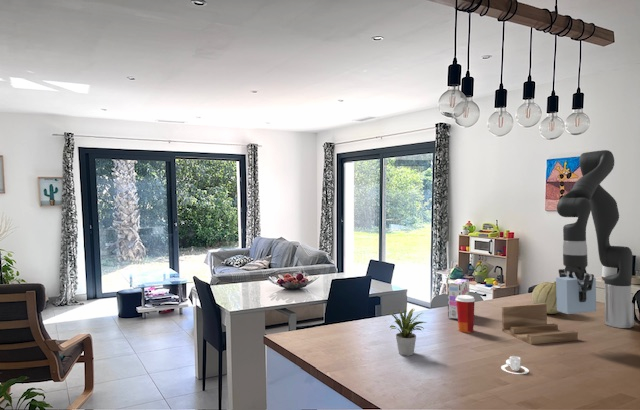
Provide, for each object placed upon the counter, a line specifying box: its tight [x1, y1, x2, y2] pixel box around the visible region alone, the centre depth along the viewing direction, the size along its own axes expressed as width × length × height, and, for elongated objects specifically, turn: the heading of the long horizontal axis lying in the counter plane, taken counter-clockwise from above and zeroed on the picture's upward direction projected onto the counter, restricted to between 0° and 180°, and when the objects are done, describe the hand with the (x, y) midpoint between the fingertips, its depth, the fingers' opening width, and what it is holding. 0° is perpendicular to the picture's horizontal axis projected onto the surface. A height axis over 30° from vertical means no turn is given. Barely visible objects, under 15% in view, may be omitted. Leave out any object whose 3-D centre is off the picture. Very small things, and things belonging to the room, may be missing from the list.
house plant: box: [388, 305, 428, 356], centre depth 147 cm, size 14×14×16 cm
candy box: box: [447, 278, 470, 321], centre depth 195 cm, size 14×6×16 cm, turn 143°
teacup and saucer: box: [500, 355, 530, 375], centre depth 132 cm, size 9×8×4 cm
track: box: [501, 303, 579, 345], centre depth 165 cm, size 17×20×10 cm
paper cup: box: [455, 294, 476, 334], centre depth 173 cm, size 8×8×14 cm
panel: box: [555, 276, 597, 315], centre depth 152 cm, size 12×5×12 cm, turn 101°
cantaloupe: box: [531, 281, 560, 315], centre depth 198 cm, size 15×15×15 cm
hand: (576, 299), depth 152 cm, fingers closed on panel, 5 cm apart
